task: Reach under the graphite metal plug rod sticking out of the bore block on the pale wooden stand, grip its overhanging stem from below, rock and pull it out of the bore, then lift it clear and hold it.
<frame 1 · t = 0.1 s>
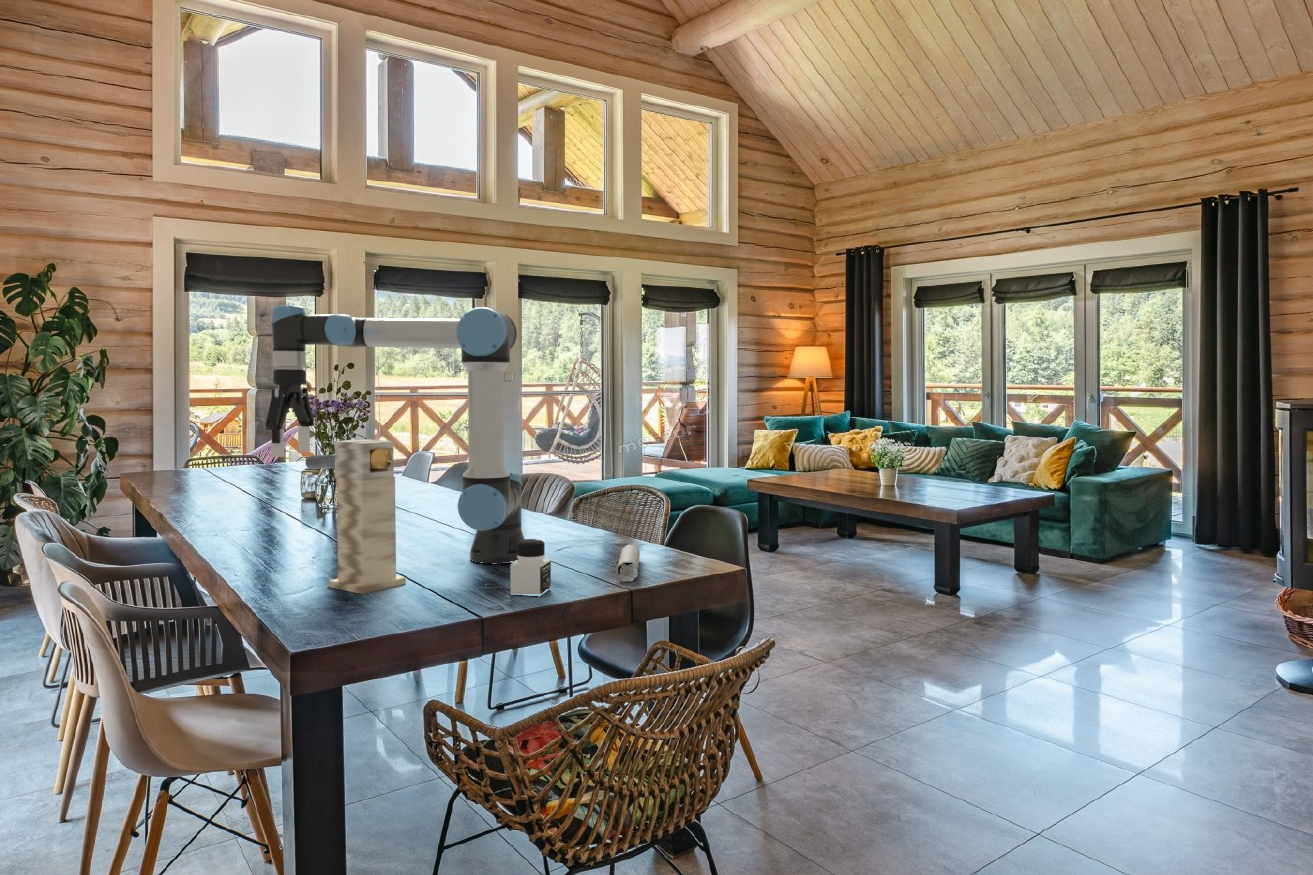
hand: (291, 454, 220), 28 cm above the table, tool pointing down, fingers open, 13 cm apart
plug rod: (364, 469, 201), point 27 cm above the table, tilted 6°, touching bore stand
tube: (628, 571, 221), on the table
bore stand: (365, 584, 203), on the table
medicine bottle: (530, 593, 197), on the table
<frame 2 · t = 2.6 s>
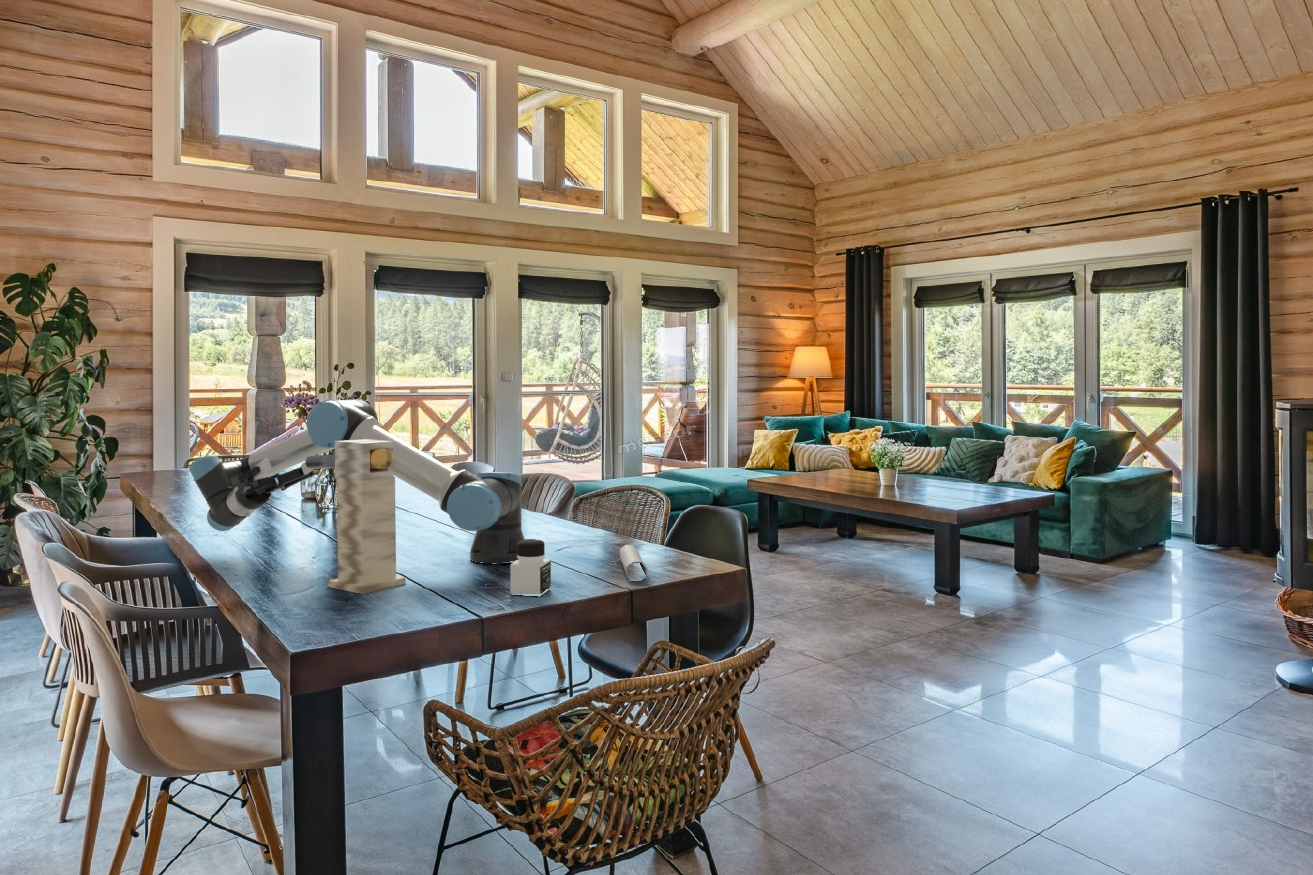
hand: (294, 460, 215), 27 cm above the table, tool pointing upward, fingers open, 13 cm apart
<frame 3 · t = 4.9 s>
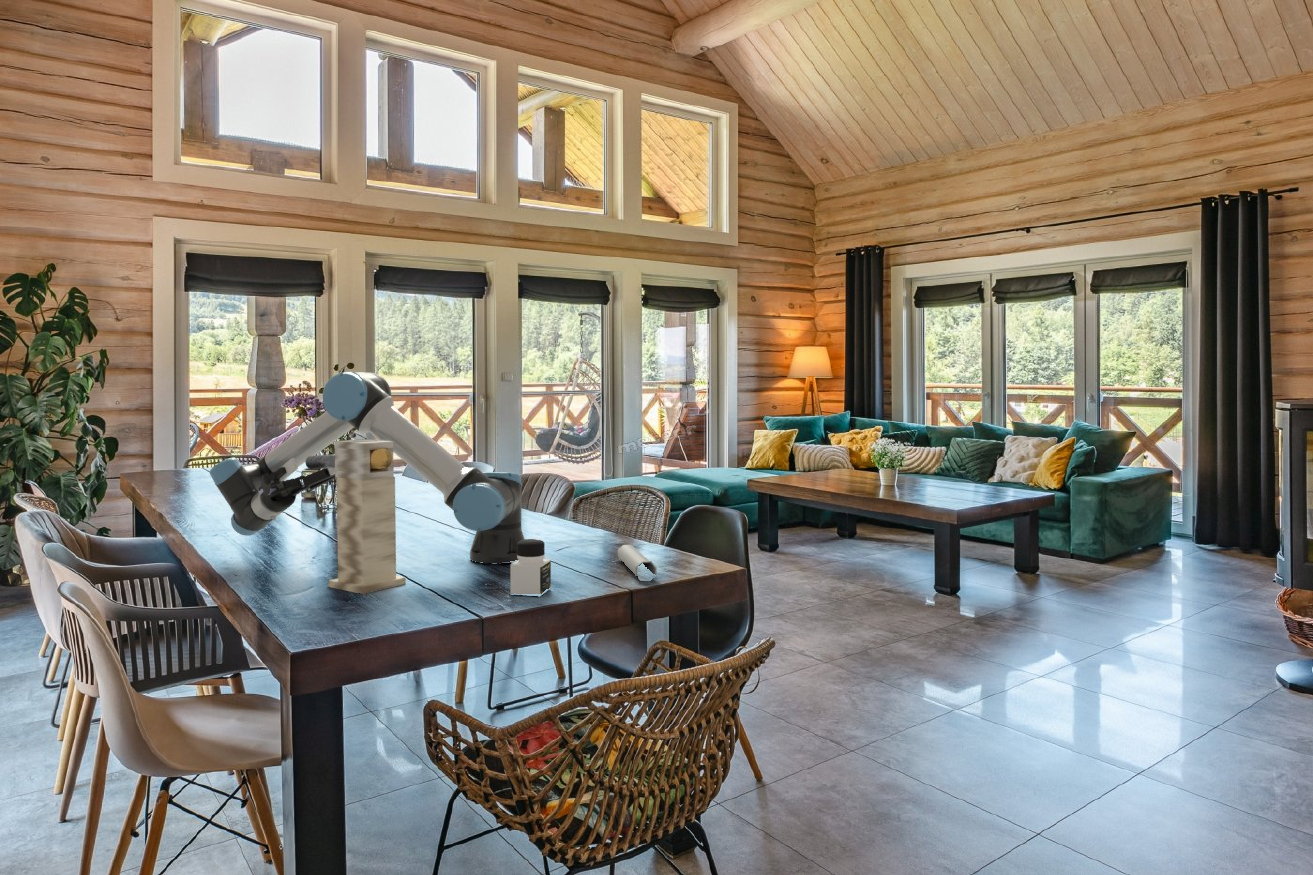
hand: (320, 460, 209), 28 cm above the table, tool pointing upward, fingers open, 13 cm apart
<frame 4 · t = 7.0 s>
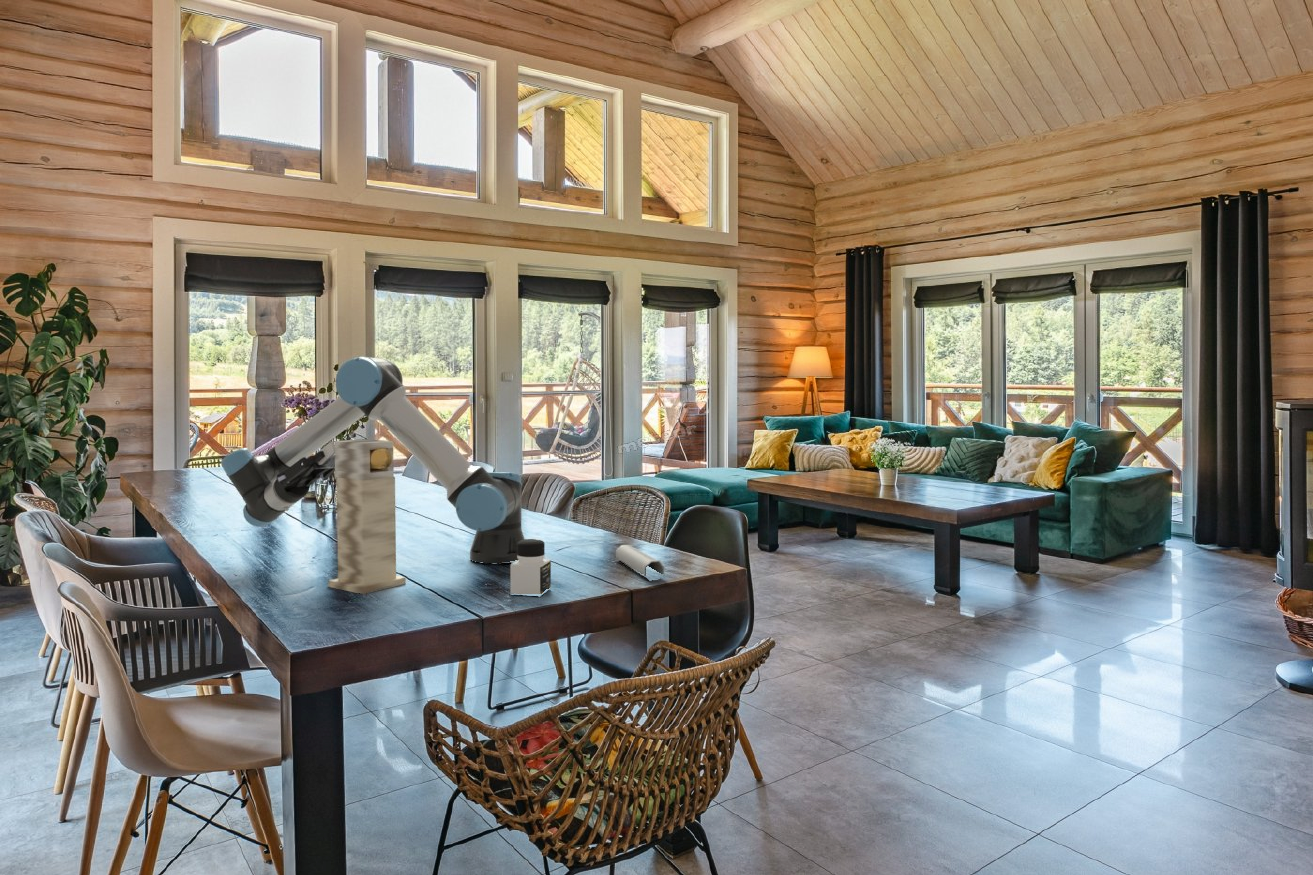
hand: (340, 446, 205), 32 cm above the table, tool pointing upward, fingers closed on plug rod, 3 cm apart
plug rod: (364, 469, 201), point 27 cm above the table, tilted 6°, touching bore stand, gripper
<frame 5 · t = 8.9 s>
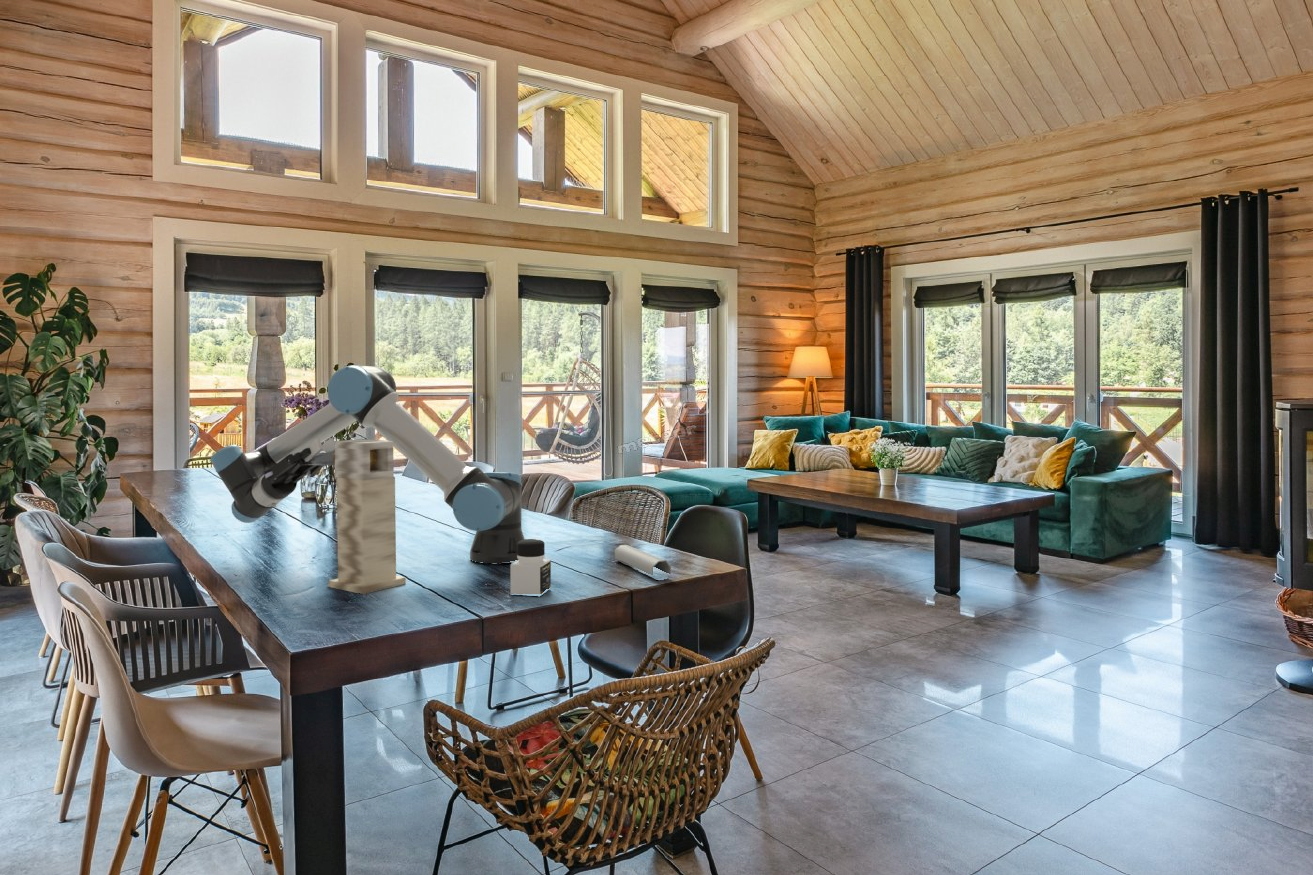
hand: (326, 443, 208), 32 cm above the table, tool pointing upward, fingers closed on plug rod, 3 cm apart
plug rod: (349, 467, 204), point 27 cm above the table, touching gripper
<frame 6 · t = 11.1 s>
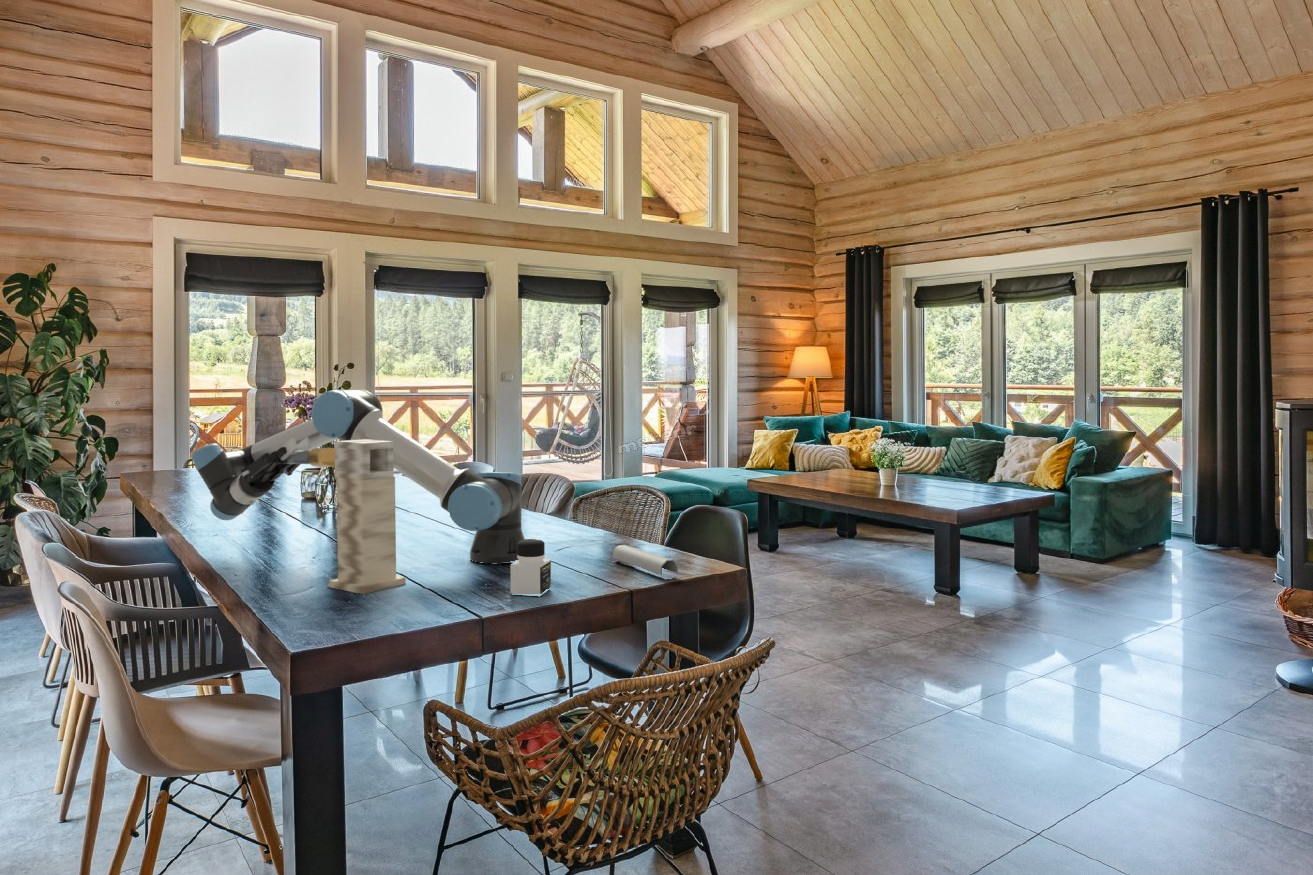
hand: (301, 442, 212), 32 cm above the table, tool pointing upward, fingers closed on plug rod, 3 cm apart
plug rod: (324, 466, 208), point 26 cm above the table, touching gripper
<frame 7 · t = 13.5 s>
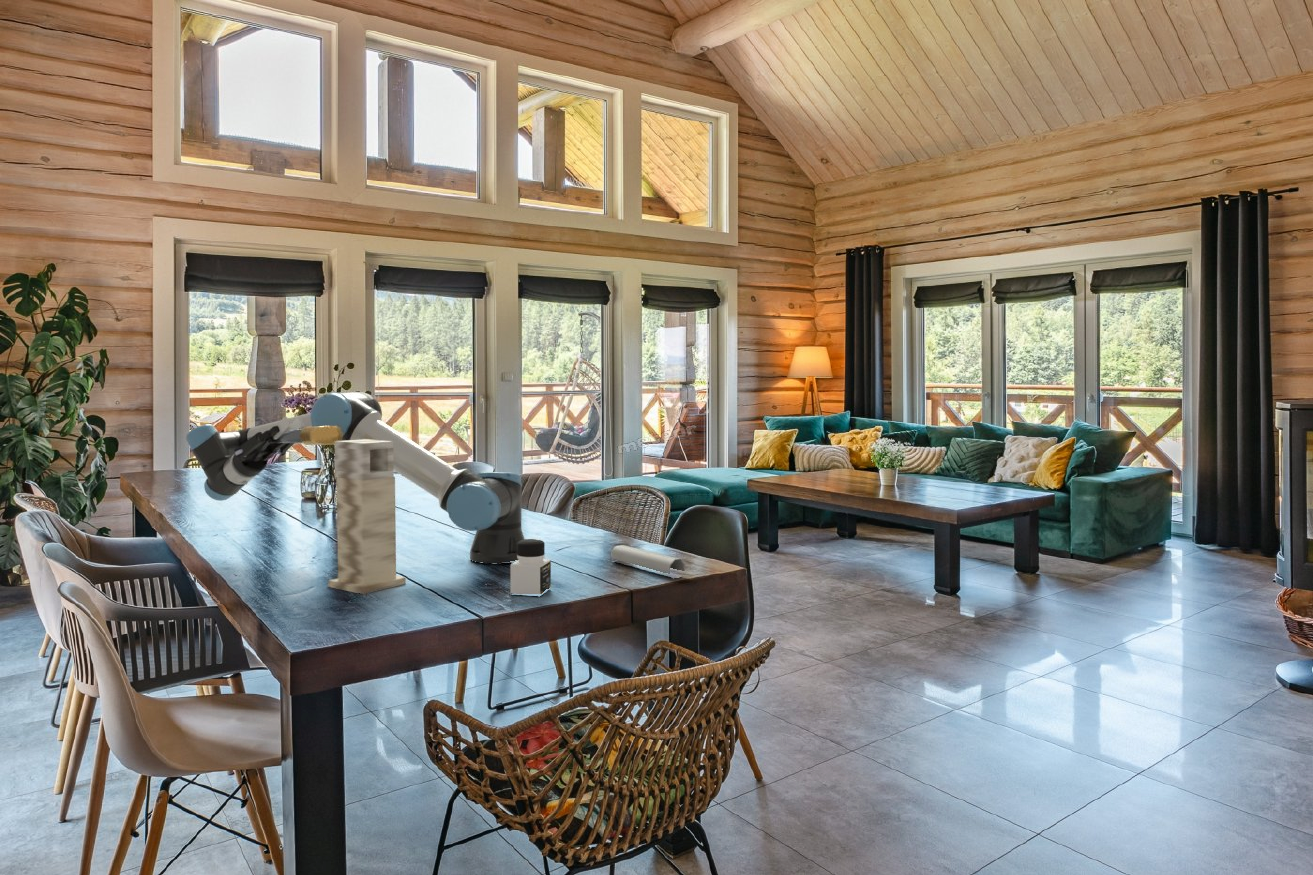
hand: (294, 421, 214), 37 cm above the table, tool pointing upward, fingers closed on plug rod, 3 cm apart
plug rod: (316, 444, 210), point 31 cm above the table, touching gripper
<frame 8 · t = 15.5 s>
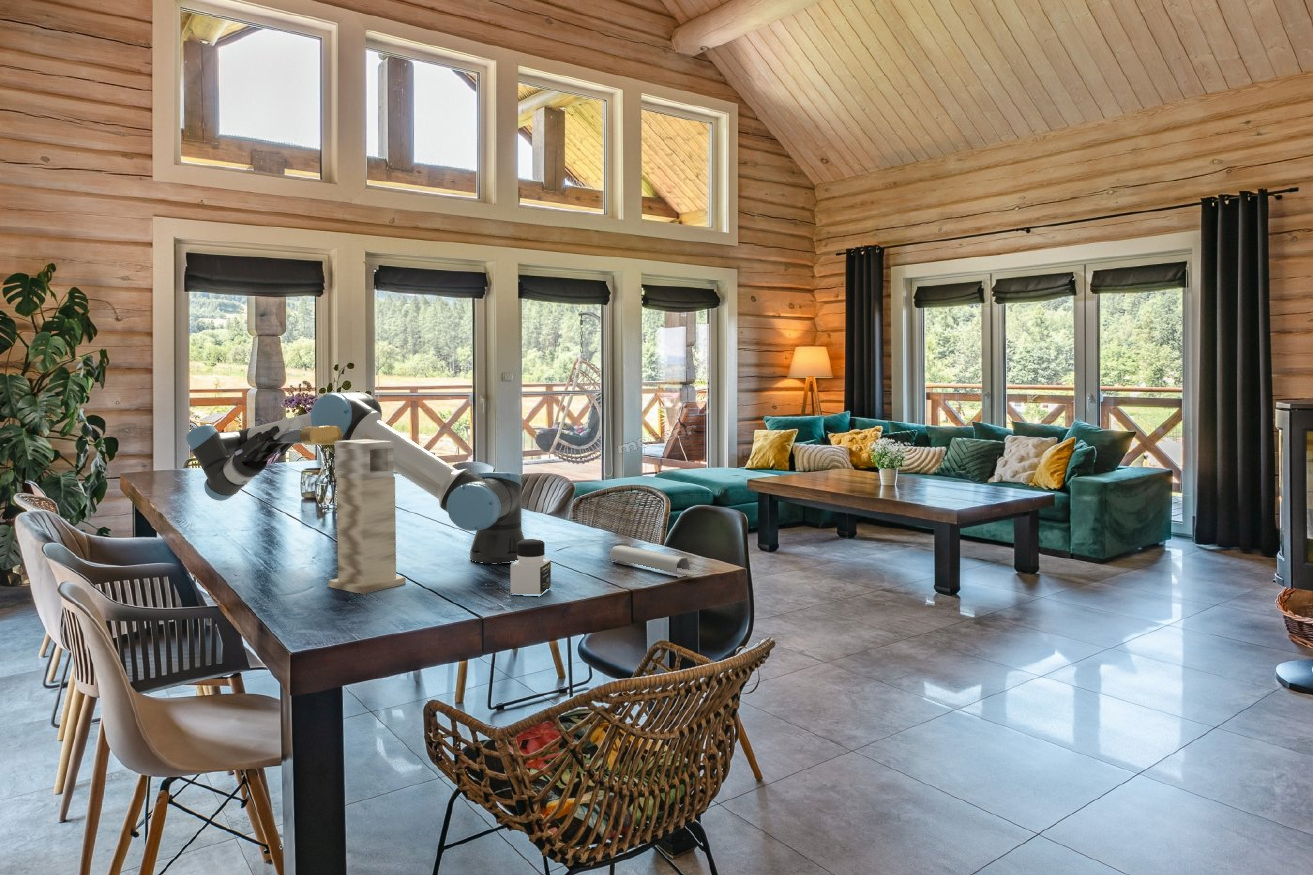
hand: (294, 421, 214), 37 cm above the table, tool pointing upward, fingers closed on plug rod, 3 cm apart
plug rod: (316, 445, 210), point 31 cm above the table, touching gripper
at the end: plug rod moved 17.7 cm from its start; plug rod touching gripper; the gripper is holding plug rod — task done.
